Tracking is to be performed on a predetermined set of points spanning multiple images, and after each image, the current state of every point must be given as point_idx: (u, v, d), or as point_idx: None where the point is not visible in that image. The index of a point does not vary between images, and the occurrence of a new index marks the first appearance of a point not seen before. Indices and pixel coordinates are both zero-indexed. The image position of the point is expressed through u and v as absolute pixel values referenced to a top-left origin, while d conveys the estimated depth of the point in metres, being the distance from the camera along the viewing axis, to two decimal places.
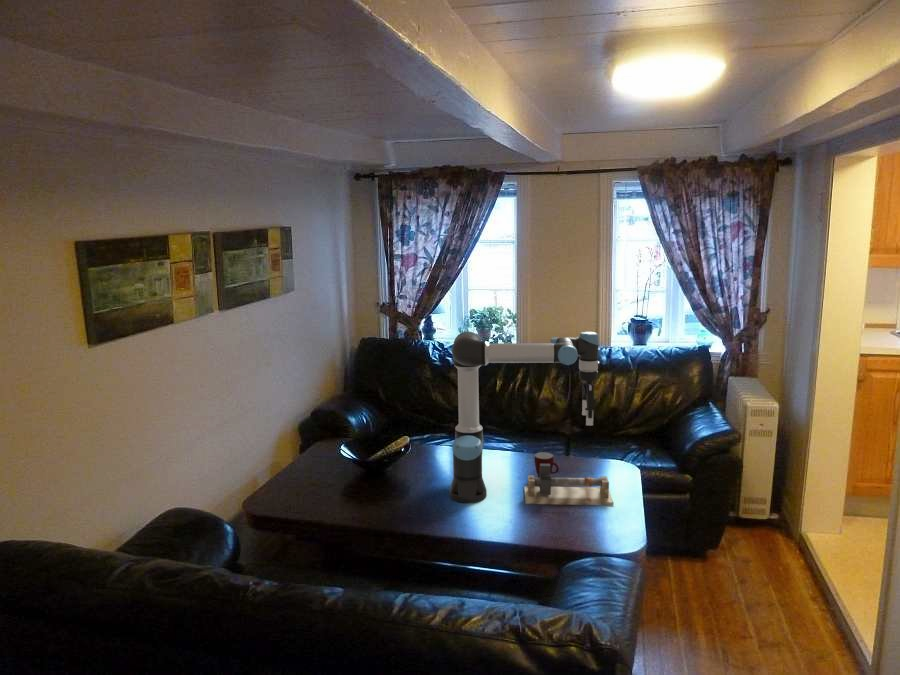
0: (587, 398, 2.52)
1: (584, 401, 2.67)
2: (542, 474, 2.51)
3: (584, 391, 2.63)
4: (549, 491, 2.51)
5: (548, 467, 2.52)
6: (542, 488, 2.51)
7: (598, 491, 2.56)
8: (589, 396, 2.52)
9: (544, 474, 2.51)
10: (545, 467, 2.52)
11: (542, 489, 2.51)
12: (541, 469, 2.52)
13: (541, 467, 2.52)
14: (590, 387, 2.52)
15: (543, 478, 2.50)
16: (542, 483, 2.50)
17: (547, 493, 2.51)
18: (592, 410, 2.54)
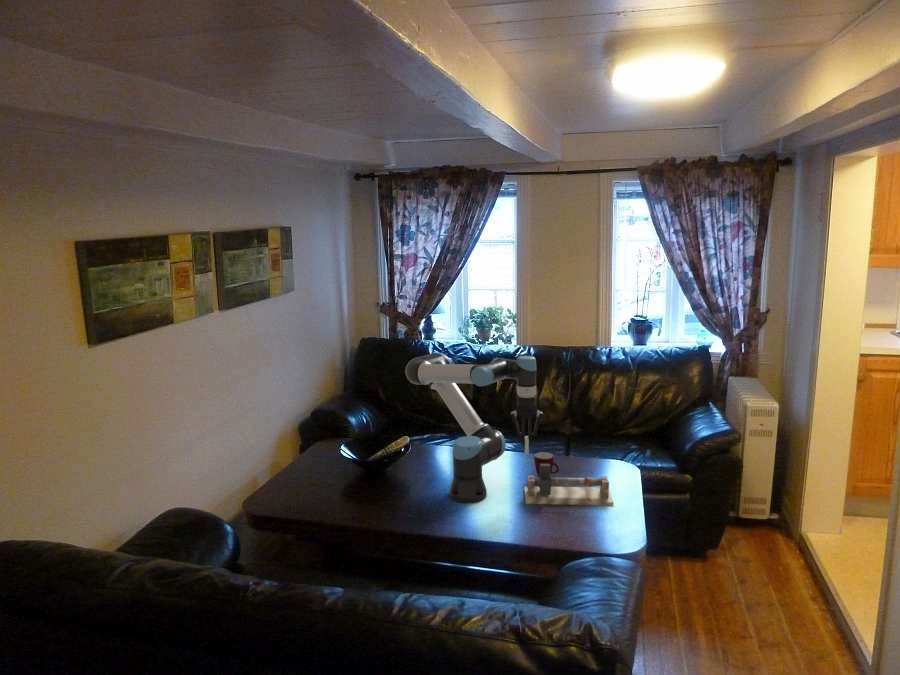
0: None
1: None
2: (542, 474, 2.51)
3: (528, 421, 2.51)
4: (549, 491, 2.51)
5: (548, 467, 2.52)
6: (542, 488, 2.51)
7: (598, 491, 2.56)
8: None
9: (544, 474, 2.51)
10: (545, 467, 2.52)
11: (542, 489, 2.51)
12: (541, 469, 2.52)
13: (541, 467, 2.52)
14: (511, 415, 2.50)
15: (543, 478, 2.50)
16: (542, 483, 2.50)
17: (547, 493, 2.51)
18: (525, 438, 2.51)
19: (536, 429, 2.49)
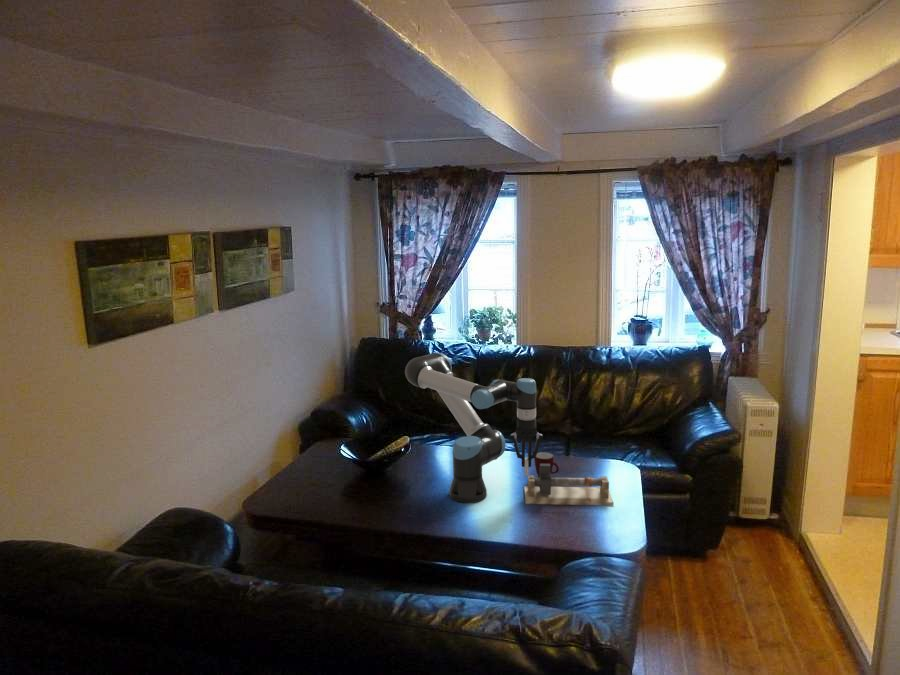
0: None
1: None
2: (542, 474, 2.51)
3: None
4: (549, 491, 2.51)
5: (548, 467, 2.52)
6: (542, 488, 2.51)
7: (598, 491, 2.56)
8: None
9: (544, 474, 2.51)
10: (545, 467, 2.52)
11: (542, 489, 2.51)
12: (541, 469, 2.52)
13: (541, 467, 2.52)
14: (511, 437, 2.52)
15: (543, 478, 2.50)
16: (542, 483, 2.50)
17: (547, 493, 2.51)
18: (524, 460, 2.52)
19: (536, 451, 2.51)
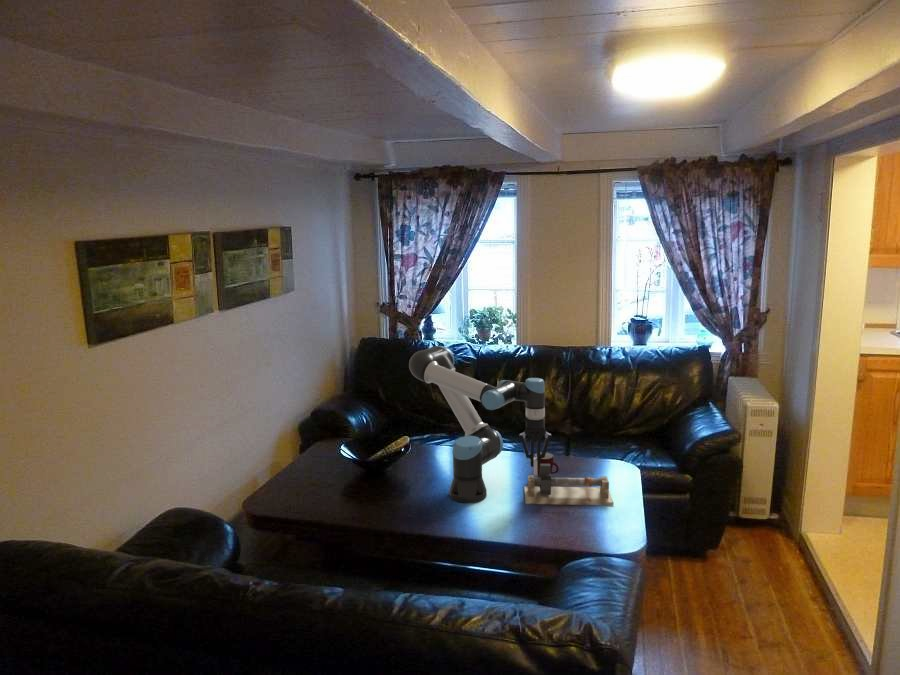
0: None
1: None
2: (542, 474, 2.51)
3: None
4: (549, 491, 2.51)
5: (548, 467, 2.52)
6: (542, 488, 2.51)
7: (598, 491, 2.56)
8: None
9: (544, 474, 2.51)
10: (545, 467, 2.52)
11: (542, 489, 2.51)
12: (541, 469, 2.52)
13: (541, 467, 2.52)
14: None
15: (543, 478, 2.50)
16: (542, 483, 2.50)
17: (547, 493, 2.51)
18: (533, 460, 2.52)
19: (545, 451, 2.51)
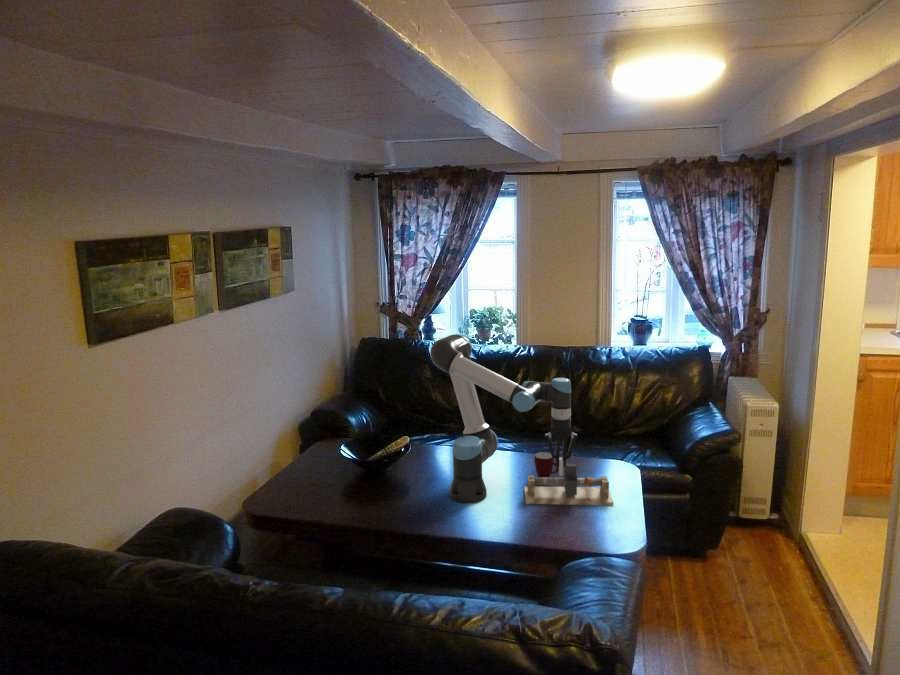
0: None
1: None
2: (567, 474, 2.51)
3: None
4: (575, 491, 2.50)
5: (574, 467, 2.51)
6: (568, 488, 2.50)
7: (598, 491, 2.56)
8: None
9: (570, 474, 2.50)
10: (571, 467, 2.51)
11: (568, 489, 2.50)
12: (567, 469, 2.51)
13: (567, 468, 2.51)
14: None
15: (569, 478, 2.49)
16: (568, 483, 2.49)
17: (573, 493, 2.50)
18: (559, 460, 2.51)
19: (570, 451, 2.50)
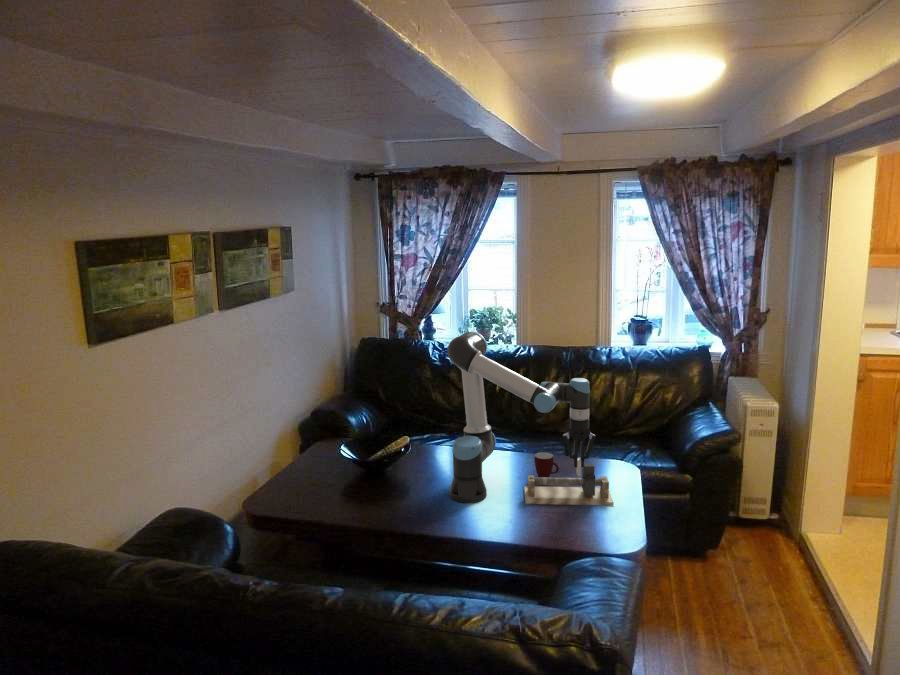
0: None
1: None
2: (586, 474, 2.50)
3: None
4: (593, 492, 2.49)
5: (592, 468, 2.50)
6: (586, 489, 2.49)
7: (598, 491, 2.56)
8: None
9: (588, 475, 2.50)
10: (589, 468, 2.51)
11: (586, 489, 2.49)
12: (585, 470, 2.51)
13: (585, 468, 2.51)
14: None
15: (587, 479, 2.48)
16: (586, 484, 2.49)
17: (591, 494, 2.49)
18: (577, 460, 2.51)
19: (589, 451, 2.49)
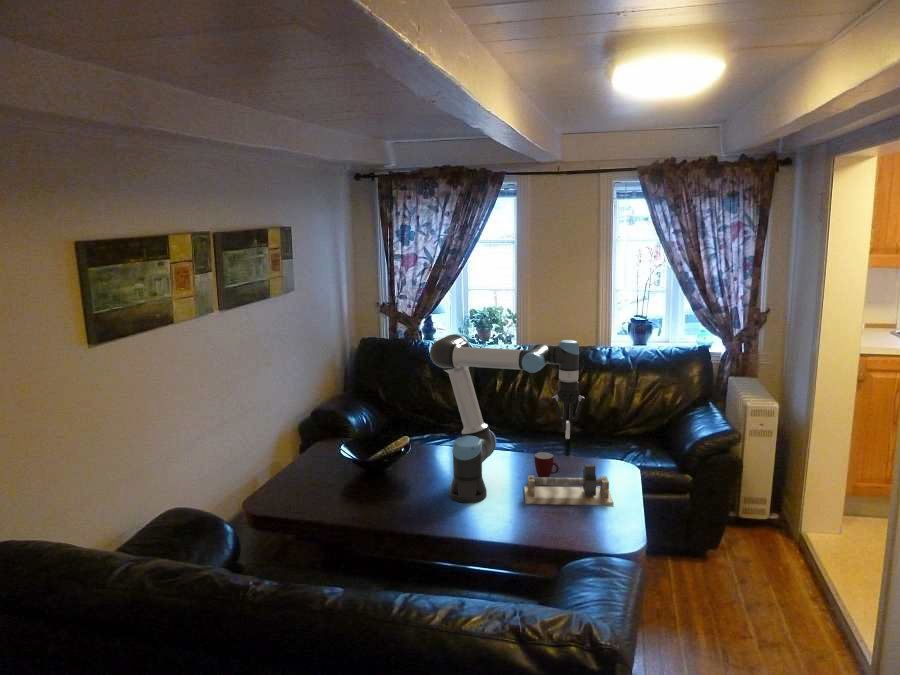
0: None
1: None
2: (587, 474, 2.50)
3: None
4: (594, 492, 2.49)
5: (593, 468, 2.50)
6: (587, 489, 2.49)
7: (598, 491, 2.56)
8: None
9: (589, 475, 2.50)
10: (590, 468, 2.50)
11: (587, 489, 2.49)
12: (586, 470, 2.51)
13: (586, 468, 2.51)
14: (552, 399, 2.49)
15: (588, 479, 2.48)
16: (587, 484, 2.49)
17: (592, 494, 2.49)
18: (566, 423, 2.49)
19: (578, 414, 2.48)
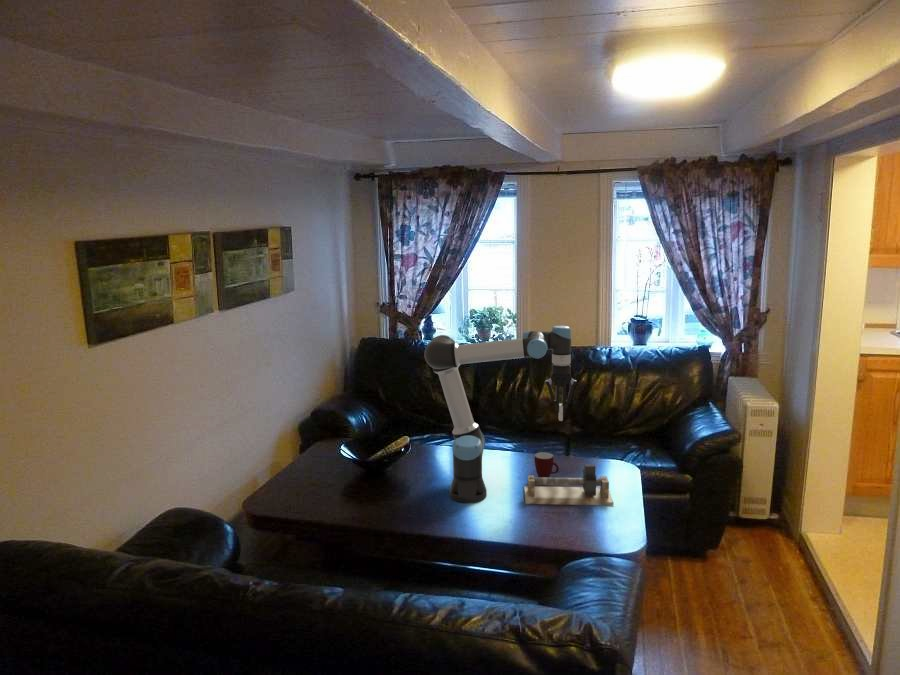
0: None
1: None
2: (587, 474, 2.50)
3: (562, 388, 2.60)
4: (594, 492, 2.49)
5: (593, 468, 2.50)
6: (587, 489, 2.49)
7: (598, 491, 2.56)
8: None
9: (589, 475, 2.50)
10: (590, 468, 2.50)
11: (587, 489, 2.49)
12: (586, 470, 2.51)
13: (586, 468, 2.51)
14: (546, 383, 2.59)
15: (588, 479, 2.48)
16: (587, 484, 2.49)
17: (592, 494, 2.49)
18: (559, 405, 2.59)
19: (570, 396, 2.58)
